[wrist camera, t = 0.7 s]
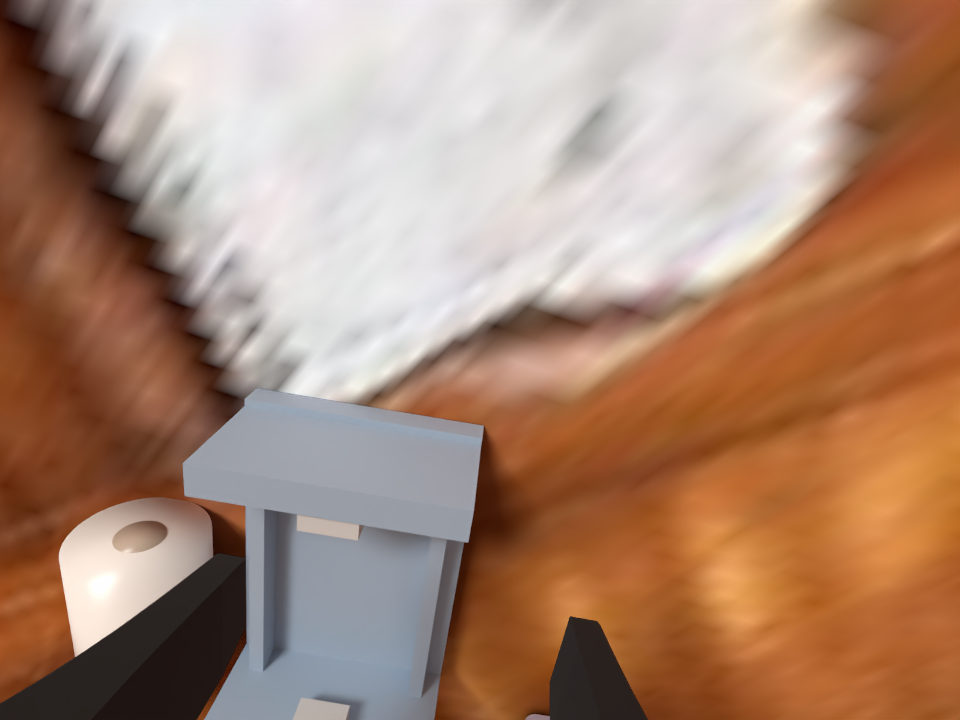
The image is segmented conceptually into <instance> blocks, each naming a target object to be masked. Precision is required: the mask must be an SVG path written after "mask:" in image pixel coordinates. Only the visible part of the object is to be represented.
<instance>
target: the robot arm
mask: <svg viewBox="0 0 960 720" xmlns="http://www.w3.org/2000/svg"><path fill="white" fill-rule="evenodd" d="M245 594H246V558H243V557H237V556H232V555H226V554H221V553H218V554H217V555H215V556H214V557H212V558H211V559H210V560H208V561H207V562H206V563H204V564H203V565H202V566H200V567H199V568H198V569H197V570H195V571H194V572H193V573H191V574H190V575H189V576H187V577H186V578H185V579H184V580H182V581H181V582H180V583H178V584H177V585H176V586H174V587H173V588H172V589H170V590H169V591H168V592H167V593H165V594H164V595H163V596H161V597H160V598H159V599H157V600H156V601H155V602H153V603H152V604H150V605H149V606H148V607H146V608H145V609H144V610H142V611H141V612H140V613H138V614H137V615H135V616H134V617H133V618H131V619H130V620H129V621H127V622H126V623H124V624H123V625H122V626H120V627H119V628H117V629H116V630H115V631H113V632H112V633H110V634H109V635H107V636H106V637H104V638H103V639H101V640H100V641H98V642H97V643H96V644H94V645H93V646H91V647H90V648H88V649H87V650H85V651H84V652H82V653H81V654H79V655H78V656H76V657H75V658H73V659H72V660H70V661H69V662H67V663H66V664H64V665H63V666H61V667H59V668H58V669H56V670H55V671H53V672H52V673H50V674H48V675H47V676H45V677H44V678H42V679H40V680H39V681H37V682H36V683H34V684H32V685H31V686H29V687H27V688H26V689H24V690H22V691H20V692H19V693H17V694H15V695H14V696H12V697H10V698H9V699H7V700H5V701H4V702H2V703H0V720H197V718H198V717H199V715H200V713H201V712H202V710H203V708H204V706H205V705H206V703H207V701H208V700H209V698H210V696H211V695H212V693H213V691H214V690H215V688H216V686H217V685H218V683H219V681H220V679H221V678H222V676H223V674H224V672H225V670H226V668H227V666H228V663H229V661H230V659H231V657H232V655H233V653H234V651H235V649H236V646H237V644H238V642H239V640H240V638H241V635H242V633H243V631H244V629H245ZM525 720H648V719H647V717H646V715H645V713H644V711H643V710H642V708H641V706H640V704H639V702H638V700H637V699H636V697H635V695H634V693H633V691H632V689H631V687H630V685H629V683H628V681H627V679H626V677H625V675H624V673H623V671H622V669H621V667H620V665H619V663H618V661H617V659H616V657H615V655H614V653H613V651H612V649H611V647H610V645H609V643H608V641H607V638H606V636H605V634H604V632H603V630H602V628H601V626H600V624H599V623H598V621H593V620H587V619H582V618H576V617H571V616H570V618H569V621H568V625H567V628H566V631H565V634H564V638H563V641H562V644H561V647H560V651H559V654H558V657H557V660H556V664H555V667H554V670H553V673H552V677H551V680H550V716H545V715H539V714H531V715H529V716H528V717H526V719H525Z"/></svg>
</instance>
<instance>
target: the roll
mask: <svg viewBox="0 0 960 720" xmlns="http://www.w3.org/2000/svg"><path fill="white" fill-rule="evenodd" d="M212 557H213V537H212V522H211V519H210V516H209V515H208V513H207V512H206V511H205V510H204V509H203V508H202V507H200V506H199V505H197V504H195V503H193V502H188V501H182V500H176V499H170V498H164V497H154V498H144V499H138V500H133V501H129V502H125V503H122V504H118V505H115V506H113V507H110V508H107V509H105V510H103V511H101V512H99V513H97V514H95V515H93V516H91V517H90V518H88V519H86V520H85V521H83V522H82V523H81V524H79V525H78V526H77V527H76V528H75V529H74V530H73V531H71V533H70V534H69V535H68V536H67V537H66V539H65V540H64V542H63V544H62V546H61V548H60V552H59V562H60V568H61V574H62V580H63V586H64V592H65V598H66V604H67V610H68V616H69V622H70V628H71V634H72V640H73V646H74V652H75V657H76V656H78V655H79V654H81V653H82V652H84V651H85V650H87V649H88V648H90V647H91V646H93V645H94V644H96V643H97V642H98V641H100V640H101V639H103V638H104V637H106V636H107V635H109V634H110V633H112V632H113V631H115V630H116V629H117V628H119V627H120V626H122V625H123V624H124V623H126V622H127V621H129V620H130V619H131V618H133V617H134V616H135V615H137V614H138V613H140V612H141V611H142V610H144V609H145V608H146V607H148V606H149V605H150V604H152V603H153V602H155V601H156V600H157V599H159V598H160V597H161V596H163V595H164V594H165V593H167V592H168V591H169V590H170V589H172V588H173V587H174V586H176V585H177V584H178V583H180V582H181V581H182V580H184V579H185V578H186V577H187V576H189V575H190V574H191V573H193V572H194V571H195V570H197V569H198V568H199V567H200V566H202V565H203V564H204V563H206V562H207V561H208V560H210V559H211V558H212Z"/></svg>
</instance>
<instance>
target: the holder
mask: <svg viewBox="0 0 960 720" xmlns="http://www.w3.org/2000/svg"><path fill="white" fill-rule="evenodd" d="M483 429H484V426H482V425H476V424H470V423H464V422H458V421H452V420H446V419H440V418H434V417H428V416H422V415H415V414H409V413H403V412H397V411H391V410H385V409H379V408H373V407H367V406H361V405H355V404H349V403H343V402H337V401H331V400H325V399H319V398H313V397H307V396H301V395H295V394H288V393H282V392H276V391H270V390H264V389H258V388H257V389H256V390H254V391H253V392H252V393H251V394H250V395H249V396H248V397H247V398H245V407H243V408H242V409H241V410H240V411H239V412H238V413H237V414H236V415H235V416H234V417H233V418H231V419H230V420H229V421H228V422H227V423H226V424H225V425H224V426H223V427H222V428H221V429H219V430H218V431H217V432H216V433H215V434H214V435H213V436H212V437H211V438H210V439H209V440H208V441H206V442H205V443H204V444H203V445H202V446H201V447H200V448H199V449H198V450H197V451H196V452H194V453H193V454H192V455H191V456H190V457H189V458H188V459H187V460H186V461H185V462H184V463H183V475H184V493H185V496H189V497H195V498H201V499H207V500H213V501H219V502H225V503H231V504H237V505H243V506H246V628H247V644H246V645H245V647H244V649H243V651H242V653H241V654H240V656H239V658H238V660H237V662H236V663H235V665H234V667H233V669H232V671H231V673H230V674H229V676H228V678H227V680H226V682H225V683H224V685H223V687H222V689H221V691H220V692H219V694H218V696H217V698H216V700H215V702H214V703H213V705H212V707H211V709H210V711H209V712H208V714H207V716H206V718H205V720H434V718H435V711H436V704H437V697H438V690H439V682H440V675H441V670H442V664H443V658H444V653H445V647H446V641H447V636H448V630H449V625H450V619H451V613H452V608H453V602H454V596H455V591H456V585H457V579H458V574H459V568H460V563H461V557H462V551H463V546H464V542H467V543H468V541H469V536H470V530H471V525H472V519H473V514H474V506H475V497H476V488H477V479H478V470H479V461H480V452H481V444H482V438H483Z"/></svg>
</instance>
